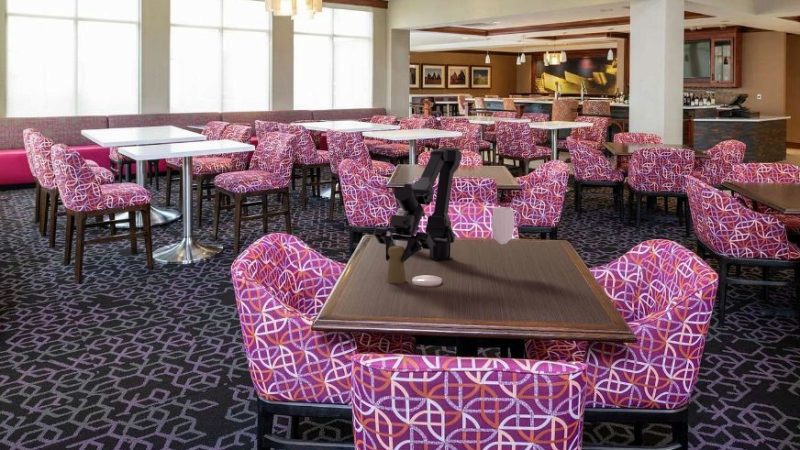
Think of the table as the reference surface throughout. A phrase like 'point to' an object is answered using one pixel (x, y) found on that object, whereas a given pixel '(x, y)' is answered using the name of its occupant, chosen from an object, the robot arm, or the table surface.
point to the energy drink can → (398, 243)
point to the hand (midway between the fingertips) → (394, 261)
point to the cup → (503, 224)
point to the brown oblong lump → (396, 265)
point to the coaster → (427, 280)
